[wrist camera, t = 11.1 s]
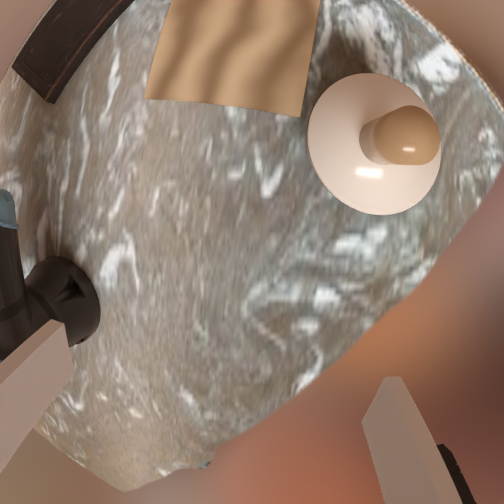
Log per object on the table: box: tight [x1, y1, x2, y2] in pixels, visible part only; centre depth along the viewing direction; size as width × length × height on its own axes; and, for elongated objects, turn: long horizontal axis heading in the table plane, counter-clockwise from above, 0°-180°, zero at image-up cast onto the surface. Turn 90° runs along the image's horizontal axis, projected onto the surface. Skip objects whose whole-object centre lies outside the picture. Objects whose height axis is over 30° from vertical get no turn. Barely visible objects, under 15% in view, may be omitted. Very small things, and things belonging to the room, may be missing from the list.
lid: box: [307, 73, 441, 215], centre depth 21 cm, size 14×14×8 cm
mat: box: [144, 0, 320, 118], centre depth 30 cm, size 20×20×1 cm
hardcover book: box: [12, 0, 134, 104], centre depth 29 cm, size 16×23×2 cm
